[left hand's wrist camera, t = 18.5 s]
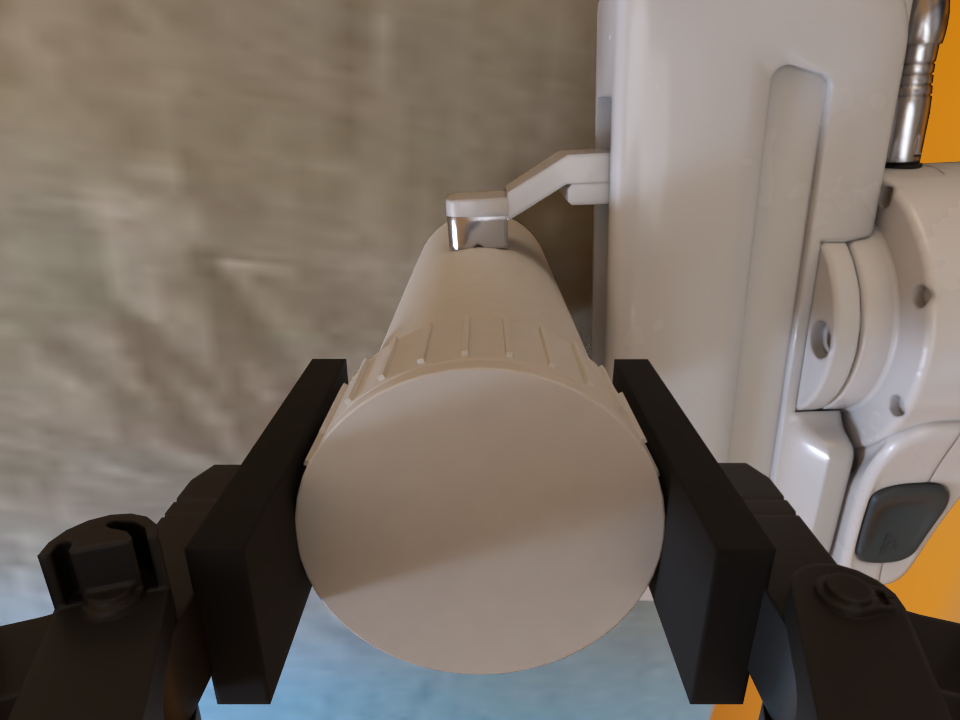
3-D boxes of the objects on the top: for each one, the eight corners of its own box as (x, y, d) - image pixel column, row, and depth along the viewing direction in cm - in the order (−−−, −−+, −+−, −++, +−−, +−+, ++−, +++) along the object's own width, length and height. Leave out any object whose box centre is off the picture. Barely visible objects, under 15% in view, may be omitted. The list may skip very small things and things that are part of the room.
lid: (302, 550, 13) (266, 640, 11) (355, 275, 11) (324, 318, 9) (578, 609, 14) (598, 705, 12) (683, 359, 12) (732, 418, 9)
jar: (549, 211, 25) (649, 358, 10) (545, 338, 27) (623, 617, 12) (414, 211, 25) (315, 360, 10) (419, 339, 27) (344, 618, 12)
